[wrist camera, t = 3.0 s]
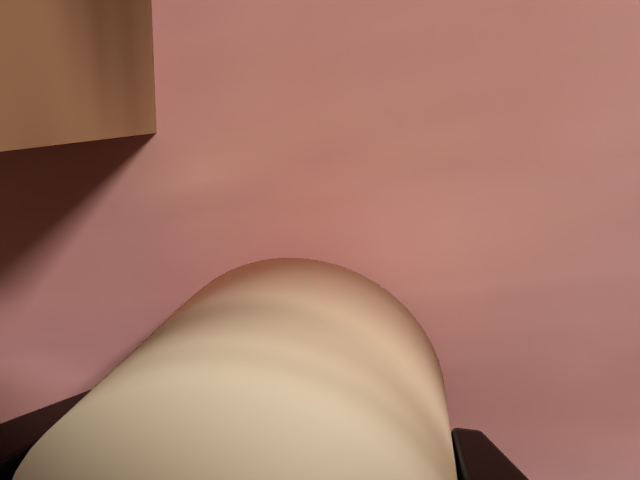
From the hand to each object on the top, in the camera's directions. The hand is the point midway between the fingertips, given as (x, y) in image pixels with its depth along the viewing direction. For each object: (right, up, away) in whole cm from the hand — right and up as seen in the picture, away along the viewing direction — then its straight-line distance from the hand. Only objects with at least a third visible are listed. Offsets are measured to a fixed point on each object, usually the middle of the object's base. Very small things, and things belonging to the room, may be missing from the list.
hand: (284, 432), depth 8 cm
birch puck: (0, 0, +1) cm, 1 cm away
